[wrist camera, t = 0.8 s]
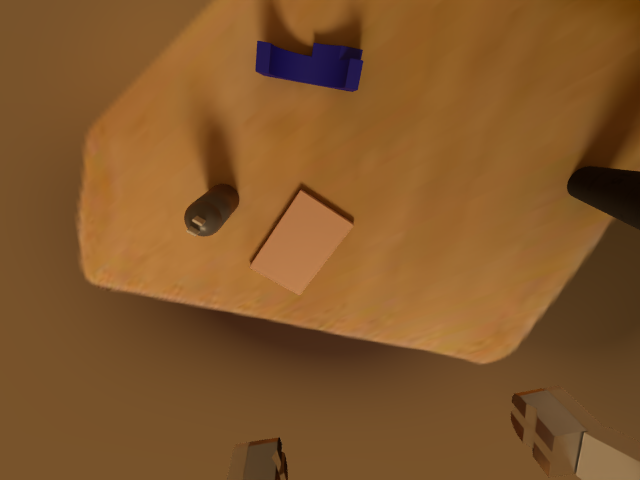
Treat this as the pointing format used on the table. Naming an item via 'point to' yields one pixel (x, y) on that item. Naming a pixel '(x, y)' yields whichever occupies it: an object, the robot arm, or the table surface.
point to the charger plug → (211, 210)
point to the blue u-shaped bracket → (312, 65)
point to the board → (301, 243)
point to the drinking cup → (609, 191)
